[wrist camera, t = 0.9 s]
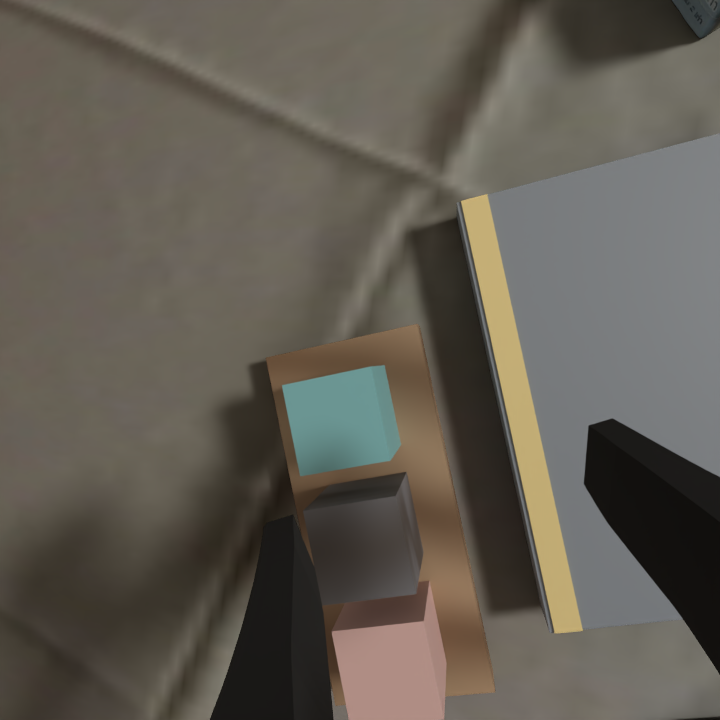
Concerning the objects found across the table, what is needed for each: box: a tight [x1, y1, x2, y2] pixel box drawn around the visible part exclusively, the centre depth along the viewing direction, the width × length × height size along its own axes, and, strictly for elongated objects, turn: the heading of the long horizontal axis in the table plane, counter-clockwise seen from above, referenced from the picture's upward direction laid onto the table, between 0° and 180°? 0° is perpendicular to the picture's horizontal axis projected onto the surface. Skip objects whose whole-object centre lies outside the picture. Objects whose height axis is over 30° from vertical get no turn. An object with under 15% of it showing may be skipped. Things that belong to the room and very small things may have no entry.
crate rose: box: [332, 581, 447, 720], centre depth 23 cm, size 4×4×4 cm
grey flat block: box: [457, 133, 720, 634], centre depth 23 cm, size 20×14×3 cm
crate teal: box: [282, 365, 401, 476], centre depth 24 cm, size 4×4×4 cm
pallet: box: [266, 324, 495, 706], centre depth 24 cm, size 18×8×6 cm, turn 12°
